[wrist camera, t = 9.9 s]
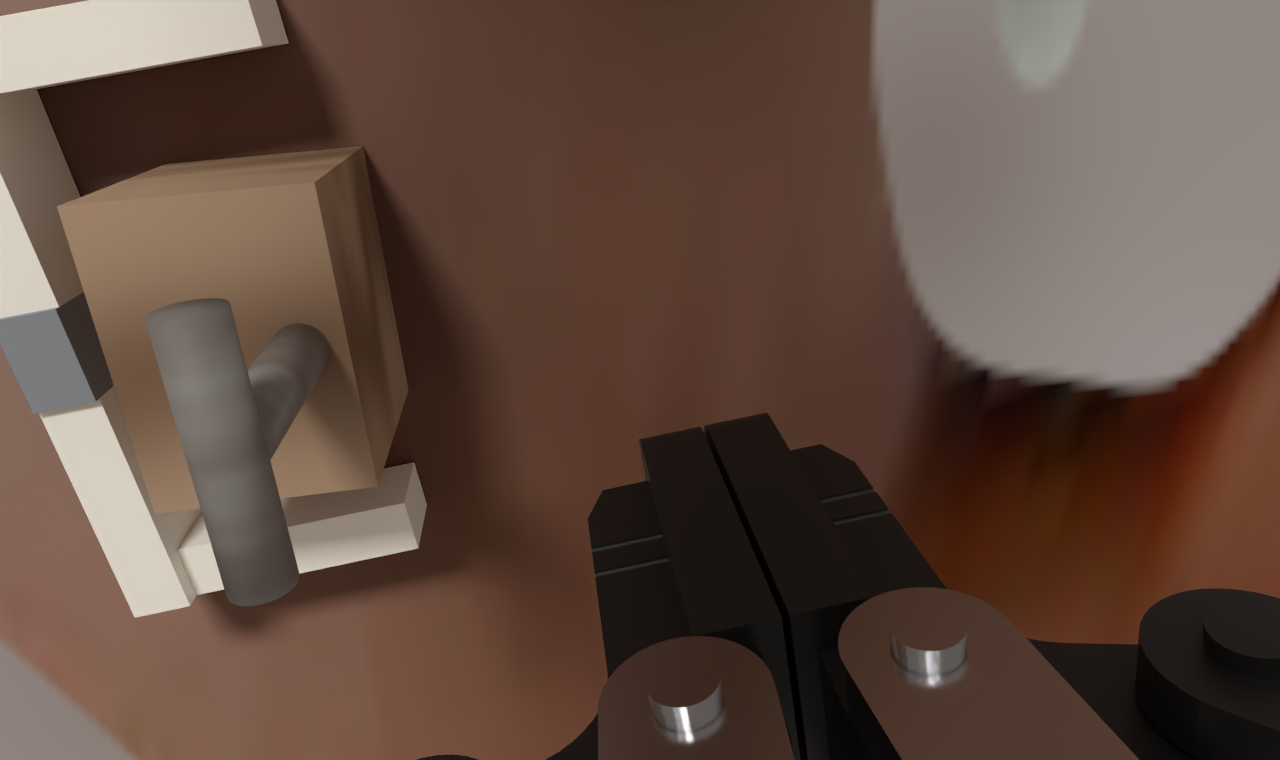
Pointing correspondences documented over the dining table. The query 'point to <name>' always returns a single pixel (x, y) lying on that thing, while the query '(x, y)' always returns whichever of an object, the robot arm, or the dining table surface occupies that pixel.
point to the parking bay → (62, 322)
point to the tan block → (245, 341)
